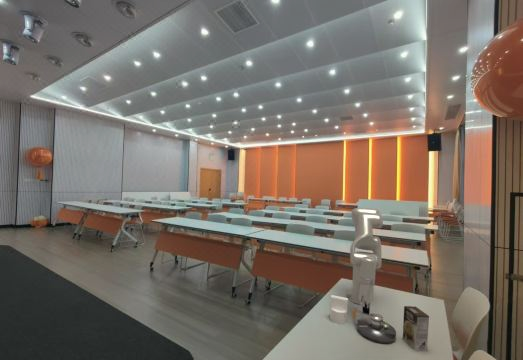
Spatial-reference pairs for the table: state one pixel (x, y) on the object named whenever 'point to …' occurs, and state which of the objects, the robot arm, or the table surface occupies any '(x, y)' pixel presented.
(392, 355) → the table surface
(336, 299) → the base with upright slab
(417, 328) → the coffee box
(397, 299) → the table surface
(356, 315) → the orange-tipped joystick
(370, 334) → the dark round disc base
